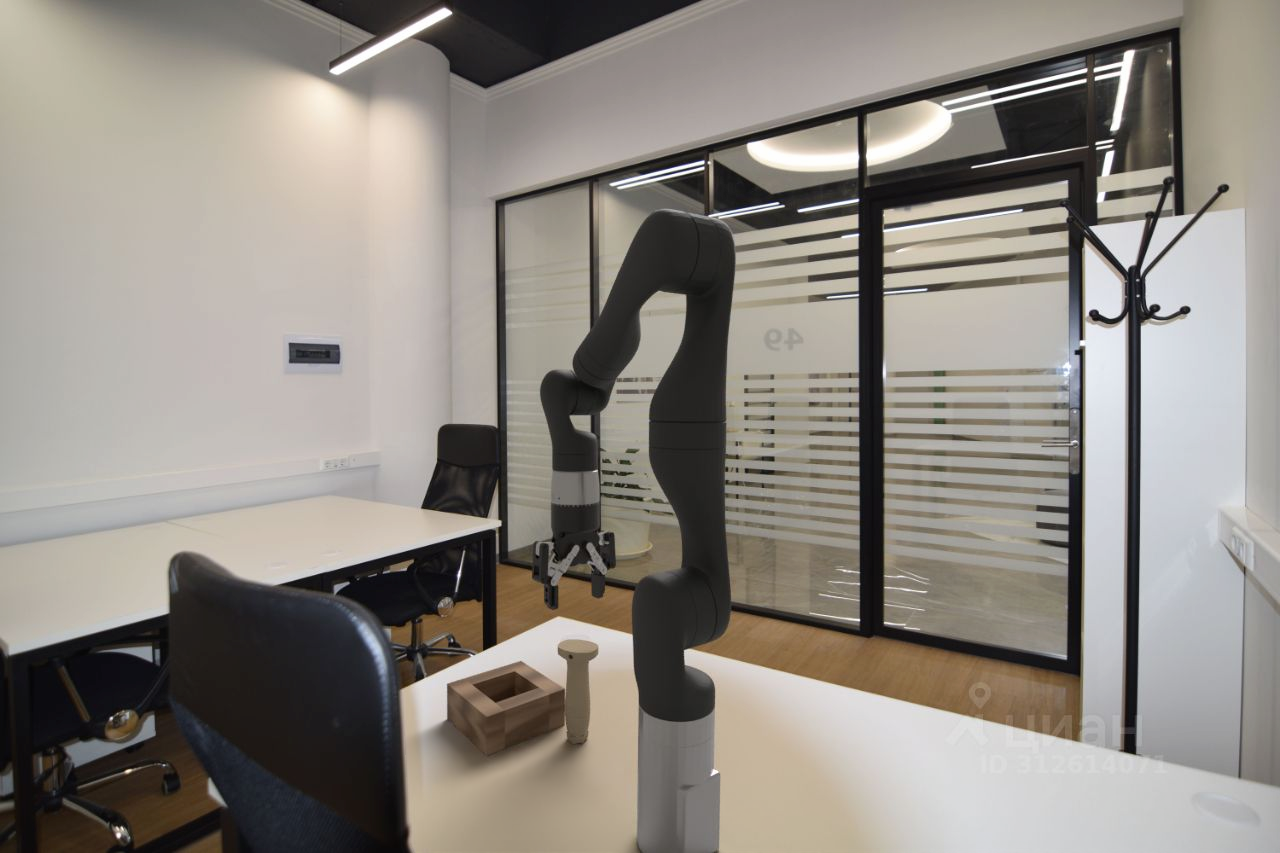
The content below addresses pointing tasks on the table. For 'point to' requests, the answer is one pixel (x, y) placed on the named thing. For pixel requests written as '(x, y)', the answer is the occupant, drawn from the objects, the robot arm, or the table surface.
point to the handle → (577, 686)
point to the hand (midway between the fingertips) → (575, 602)
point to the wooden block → (505, 706)
